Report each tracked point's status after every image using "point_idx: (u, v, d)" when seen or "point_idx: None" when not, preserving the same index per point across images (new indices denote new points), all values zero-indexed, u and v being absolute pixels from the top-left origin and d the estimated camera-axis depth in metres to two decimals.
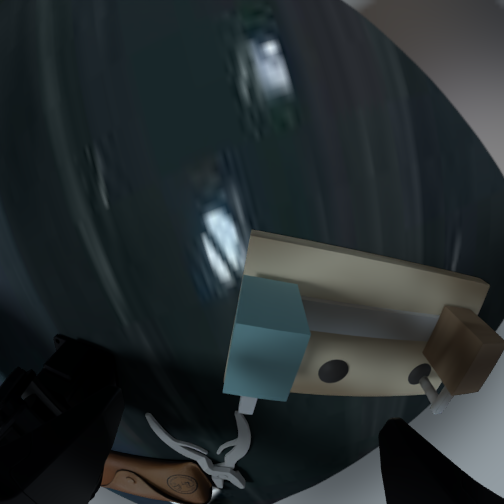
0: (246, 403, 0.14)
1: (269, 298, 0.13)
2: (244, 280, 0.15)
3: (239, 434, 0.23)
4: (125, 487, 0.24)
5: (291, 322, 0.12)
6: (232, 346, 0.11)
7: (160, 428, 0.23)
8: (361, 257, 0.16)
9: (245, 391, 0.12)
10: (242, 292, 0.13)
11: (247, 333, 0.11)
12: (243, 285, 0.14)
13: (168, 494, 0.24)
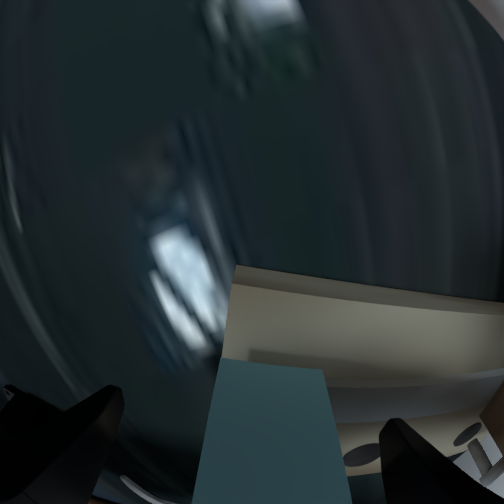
0: None
1: (268, 425, 0.06)
2: (220, 375, 0.07)
3: None
4: None
5: (316, 498, 0.04)
6: None
7: (140, 490, 0.15)
8: (429, 309, 0.08)
9: None
10: (212, 415, 0.06)
11: None
12: (216, 391, 0.06)
13: None
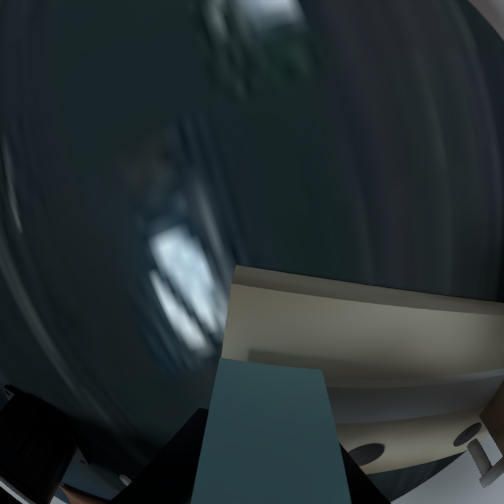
0: None
1: (268, 425, 0.06)
2: (219, 375, 0.07)
3: None
4: None
5: (315, 498, 0.04)
6: None
7: None
8: (429, 309, 0.08)
9: None
10: (211, 415, 0.06)
11: None
12: (216, 391, 0.06)
13: None
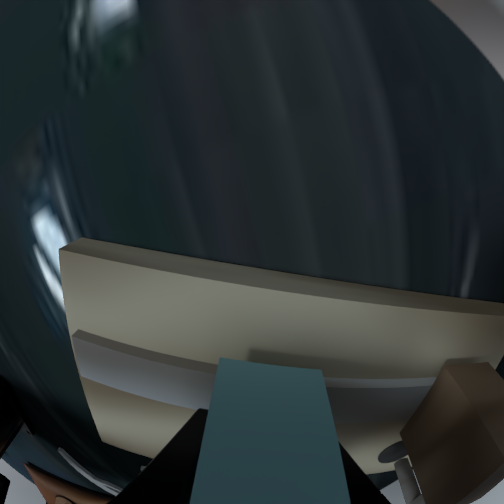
0: None
1: (267, 425, 0.06)
2: (219, 375, 0.07)
3: None
4: None
5: (315, 498, 0.04)
6: None
7: (77, 465, 0.15)
8: (256, 287, 0.08)
9: None
10: (211, 415, 0.06)
11: None
12: (216, 391, 0.06)
13: None
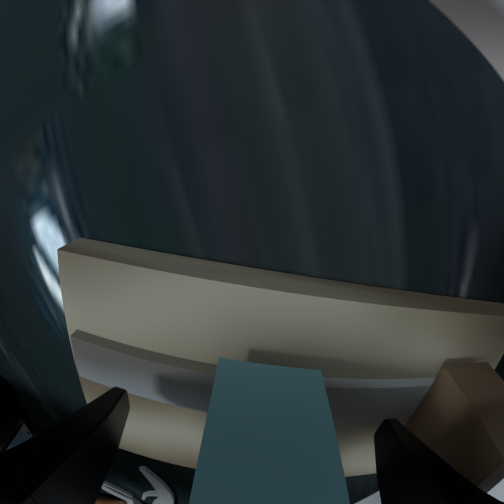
0: None
1: (267, 425, 0.06)
2: (219, 375, 0.07)
3: (155, 488, 0.15)
4: None
5: (314, 498, 0.04)
6: None
7: None
8: (254, 287, 0.08)
9: None
10: (210, 415, 0.06)
11: None
12: (215, 391, 0.06)
13: None
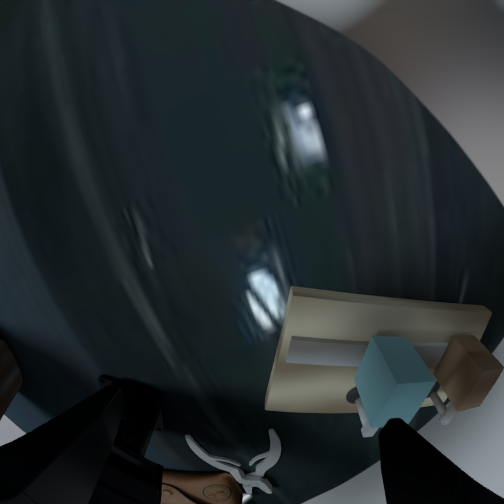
0: (371, 429, 0.16)
1: (400, 355, 0.15)
2: (376, 342, 0.17)
3: (271, 448, 0.25)
4: (161, 498, 0.26)
5: (423, 374, 0.14)
6: (390, 398, 0.13)
7: (198, 447, 0.25)
8: (384, 305, 0.18)
9: None
10: (383, 354, 0.15)
11: (402, 388, 0.13)
12: (379, 347, 0.16)
13: (202, 503, 0.26)
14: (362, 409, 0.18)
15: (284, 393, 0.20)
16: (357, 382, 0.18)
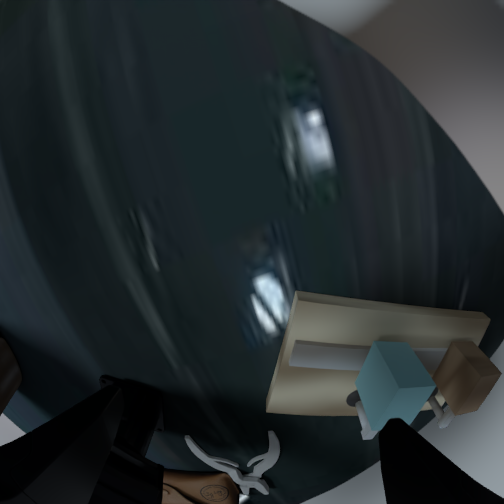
0: (371, 432, 0.16)
1: (401, 360, 0.16)
2: (378, 347, 0.17)
3: (270, 449, 0.25)
4: None
5: (423, 379, 0.14)
6: (391, 401, 0.13)
7: (197, 447, 0.25)
8: (387, 311, 0.18)
9: None
10: (385, 359, 0.16)
11: (403, 392, 0.13)
12: (381, 352, 0.16)
13: (200, 503, 0.26)
14: (362, 412, 0.18)
15: (286, 396, 0.20)
16: (358, 386, 0.18)
